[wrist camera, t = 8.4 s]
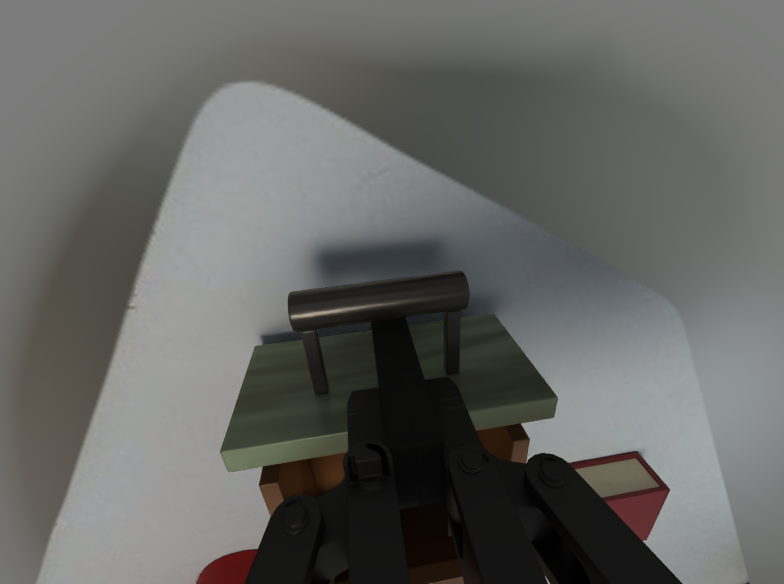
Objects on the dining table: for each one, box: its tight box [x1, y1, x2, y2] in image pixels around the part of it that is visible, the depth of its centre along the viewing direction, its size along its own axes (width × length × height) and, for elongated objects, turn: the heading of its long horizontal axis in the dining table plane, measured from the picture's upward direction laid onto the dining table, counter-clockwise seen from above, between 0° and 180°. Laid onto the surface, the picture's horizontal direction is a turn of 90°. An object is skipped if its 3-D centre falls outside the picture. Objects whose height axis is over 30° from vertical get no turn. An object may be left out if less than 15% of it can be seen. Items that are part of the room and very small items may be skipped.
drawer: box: [220, 271, 558, 583], centre depth 20 cm, size 21×14×7 cm, turn 4°
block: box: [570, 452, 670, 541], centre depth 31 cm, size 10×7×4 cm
